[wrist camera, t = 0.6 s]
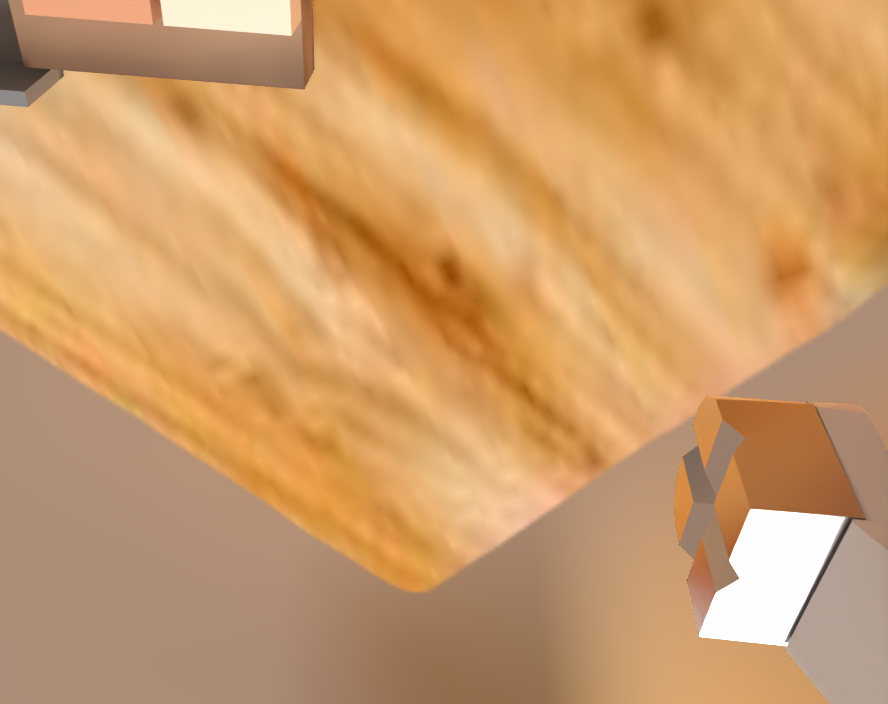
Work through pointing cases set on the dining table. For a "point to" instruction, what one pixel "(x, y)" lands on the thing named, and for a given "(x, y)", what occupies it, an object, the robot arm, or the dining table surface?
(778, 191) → the dining table surface
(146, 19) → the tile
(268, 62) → the plate
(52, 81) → the box
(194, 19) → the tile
